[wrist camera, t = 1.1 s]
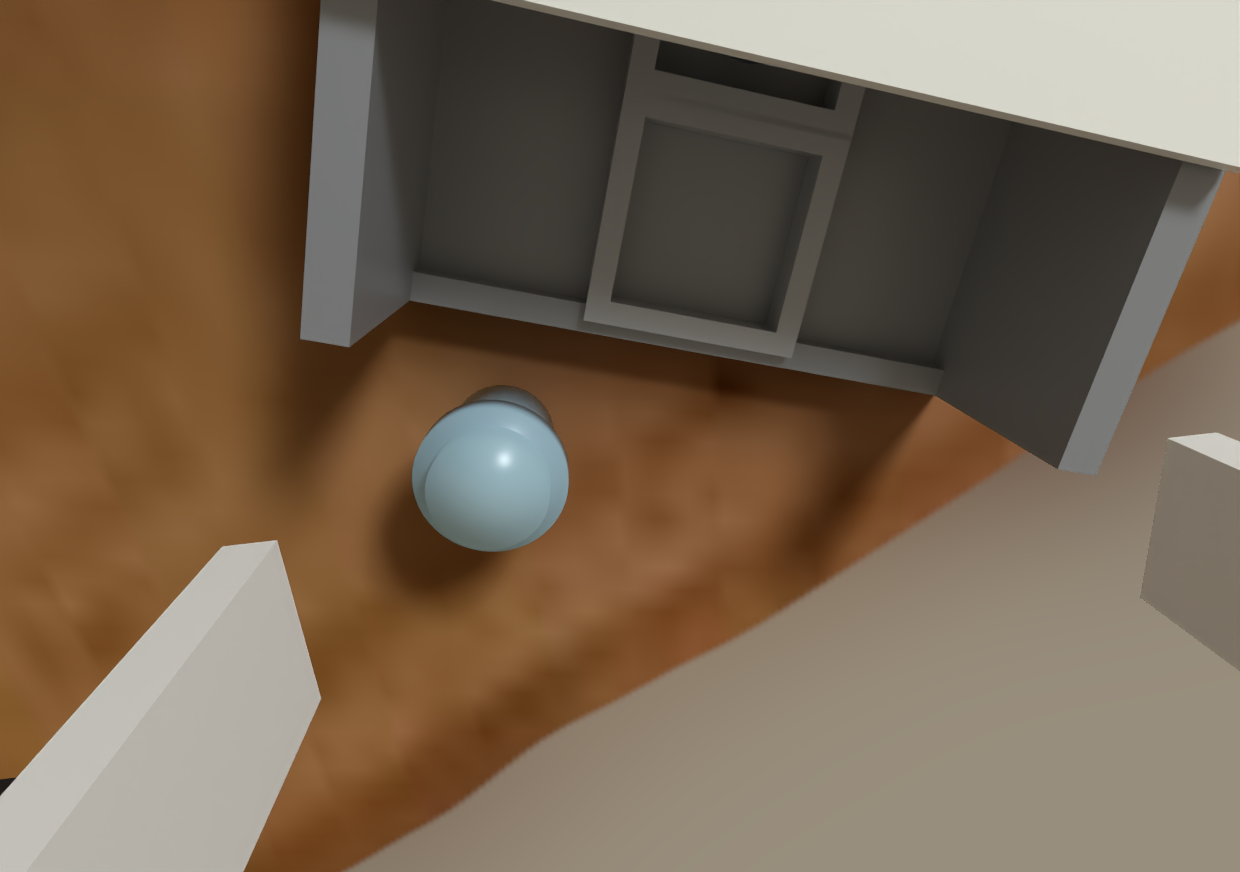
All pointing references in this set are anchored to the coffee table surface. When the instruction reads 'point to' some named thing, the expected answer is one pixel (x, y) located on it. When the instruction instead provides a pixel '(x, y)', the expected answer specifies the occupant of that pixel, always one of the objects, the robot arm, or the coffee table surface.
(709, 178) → the housing
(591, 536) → the coffee table surface
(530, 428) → the peg
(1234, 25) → the lid
